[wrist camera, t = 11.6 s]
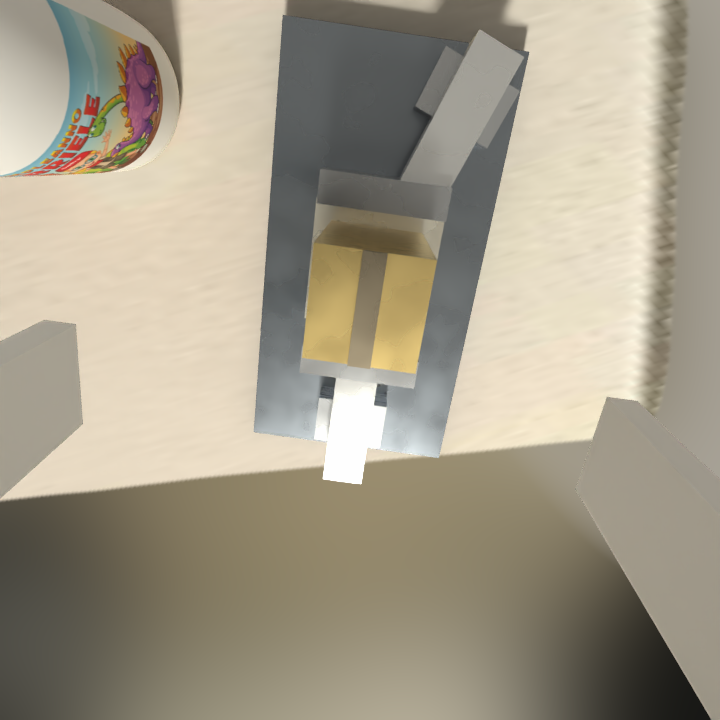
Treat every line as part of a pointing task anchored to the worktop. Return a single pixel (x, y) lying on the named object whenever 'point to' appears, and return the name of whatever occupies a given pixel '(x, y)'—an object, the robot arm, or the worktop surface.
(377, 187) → the grey fixture board
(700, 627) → the robot arm
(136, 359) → the worktop surface
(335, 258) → the yellow block
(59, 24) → the milk bottle
